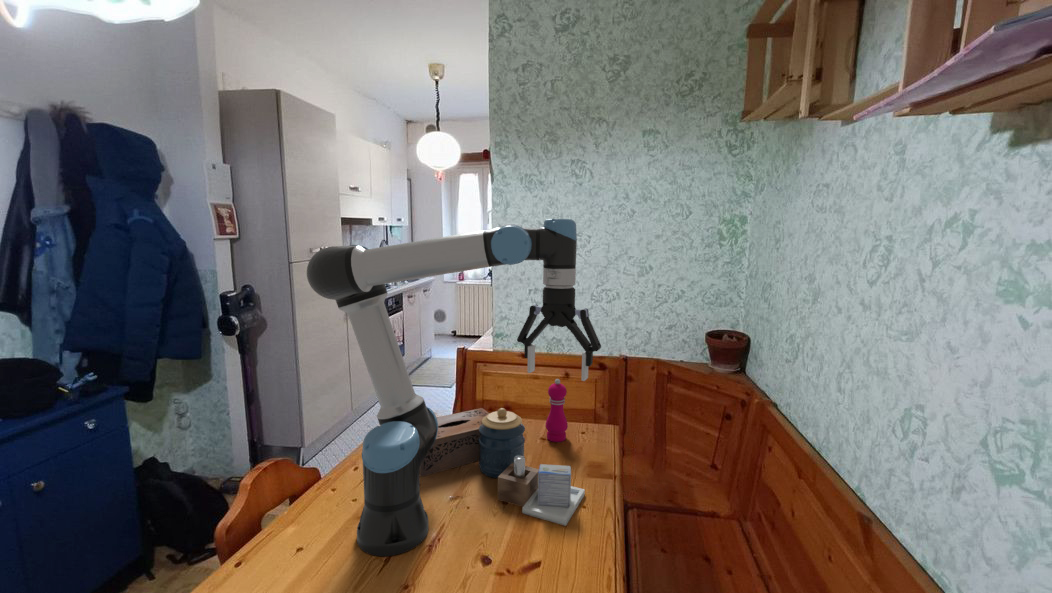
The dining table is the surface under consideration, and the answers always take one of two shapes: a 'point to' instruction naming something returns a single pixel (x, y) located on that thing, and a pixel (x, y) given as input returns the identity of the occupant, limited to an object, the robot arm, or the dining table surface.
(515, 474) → the pin
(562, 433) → the pepper mill
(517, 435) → the canister
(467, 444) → the tissue box cover
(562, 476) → the medicine box
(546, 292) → the robot arm
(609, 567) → the dining table surface
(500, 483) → the square hollow frame
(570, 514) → the tray
